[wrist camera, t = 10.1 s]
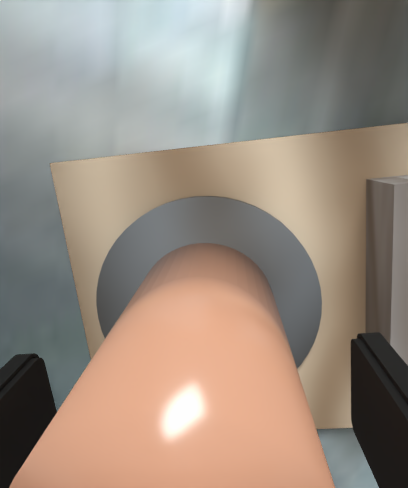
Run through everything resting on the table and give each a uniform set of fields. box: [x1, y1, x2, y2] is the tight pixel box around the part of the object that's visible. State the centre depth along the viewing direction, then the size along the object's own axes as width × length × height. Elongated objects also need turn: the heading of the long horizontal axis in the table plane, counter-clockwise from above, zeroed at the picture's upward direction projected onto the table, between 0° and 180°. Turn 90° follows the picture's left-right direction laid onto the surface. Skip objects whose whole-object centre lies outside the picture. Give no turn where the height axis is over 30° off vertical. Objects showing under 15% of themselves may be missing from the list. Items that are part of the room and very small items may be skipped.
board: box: [50, 123, 408, 429], centre depth 15 cm, size 24×14×4 cm, turn 96°
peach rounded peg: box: [9, 243, 335, 488], centre depth 11 cm, size 8×6×10 cm
